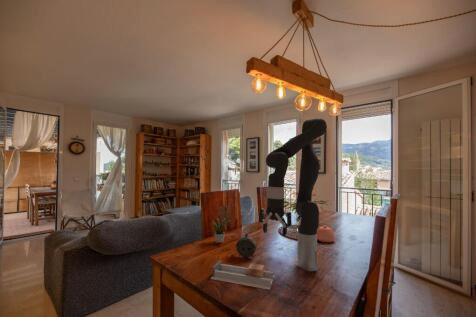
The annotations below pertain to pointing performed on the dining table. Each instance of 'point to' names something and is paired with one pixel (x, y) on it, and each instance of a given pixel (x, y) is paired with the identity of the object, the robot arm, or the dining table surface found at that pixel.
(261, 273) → the block
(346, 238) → the dining table surface
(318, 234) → the sugar bowl
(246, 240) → the alarm clock
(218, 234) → the house plant
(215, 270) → the chute
